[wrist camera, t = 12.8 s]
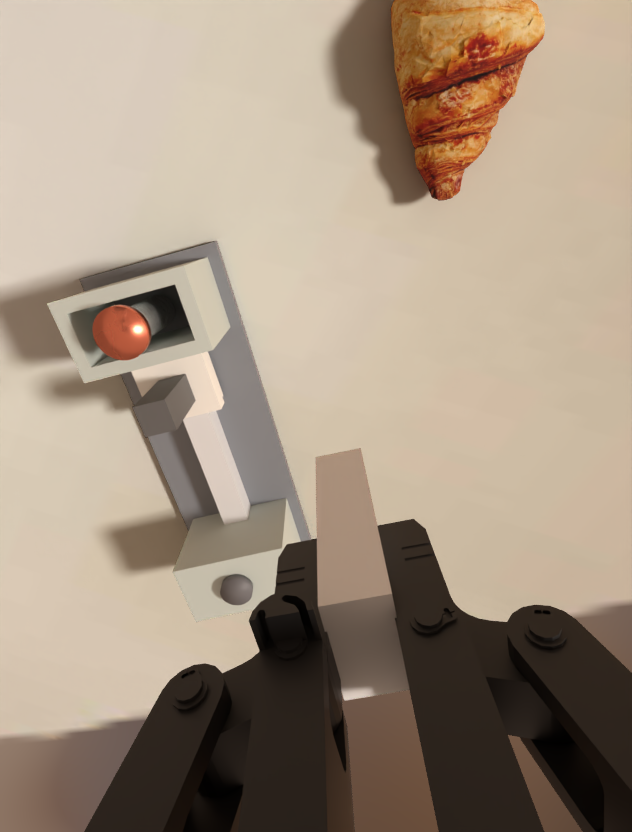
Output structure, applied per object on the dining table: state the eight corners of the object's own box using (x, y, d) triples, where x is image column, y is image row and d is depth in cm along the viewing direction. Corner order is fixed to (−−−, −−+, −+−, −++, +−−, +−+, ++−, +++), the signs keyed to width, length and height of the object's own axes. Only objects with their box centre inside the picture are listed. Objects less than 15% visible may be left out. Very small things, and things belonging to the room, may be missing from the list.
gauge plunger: (130, 294, 39) (83, 314, 31) (171, 283, 39) (134, 300, 31) (147, 336, 40) (106, 366, 32) (187, 326, 40) (155, 353, 32)
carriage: (146, 358, 42) (100, 396, 33) (210, 341, 41) (182, 375, 32) (166, 409, 44) (129, 458, 35) (228, 393, 43) (206, 439, 34)
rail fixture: (83, 278, 41) (19, 294, 32) (216, 240, 40) (189, 247, 31) (208, 568, 52) (187, 639, 44) (313, 545, 51) (313, 613, 43)
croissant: (420, -121, 34) (381, -208, 27) (578, -171, 30) (578, -288, 23) (398, 204, 41) (364, 198, 35) (521, 202, 37) (509, 194, 31)
